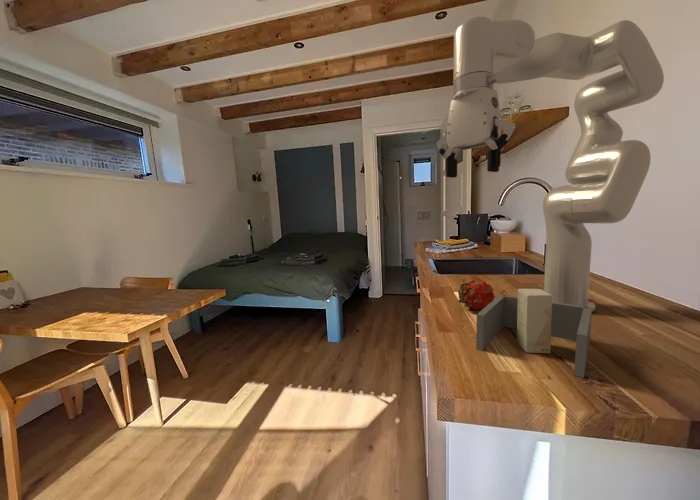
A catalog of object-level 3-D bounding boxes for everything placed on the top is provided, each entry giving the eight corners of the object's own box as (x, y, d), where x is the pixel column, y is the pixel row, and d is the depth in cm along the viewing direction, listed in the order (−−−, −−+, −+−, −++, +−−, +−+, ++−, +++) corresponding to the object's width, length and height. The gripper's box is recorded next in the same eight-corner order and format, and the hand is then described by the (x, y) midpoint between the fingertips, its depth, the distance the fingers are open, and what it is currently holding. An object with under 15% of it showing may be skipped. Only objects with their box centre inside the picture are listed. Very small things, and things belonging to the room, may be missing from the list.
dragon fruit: (457, 318, 77) (485, 315, 84) (483, 306, 71) (511, 303, 77) (445, 288, 81) (473, 287, 88) (468, 274, 75) (496, 274, 81)
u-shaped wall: (499, 323, 69) (500, 294, 68) (589, 341, 58) (591, 307, 57) (476, 349, 57) (476, 314, 56) (583, 377, 46) (586, 335, 45)
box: (551, 354, 54) (554, 295, 52) (525, 353, 55) (527, 295, 53) (539, 341, 59) (541, 288, 58) (515, 340, 60) (517, 287, 58)
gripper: (525, 77, 56) (522, 170, 58) (448, 106, 70) (447, 179, 72) (505, 67, 52) (502, 168, 54) (427, 100, 66) (427, 178, 68)
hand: (471, 174), depth 63 cm, fingers open, 9 cm apart
